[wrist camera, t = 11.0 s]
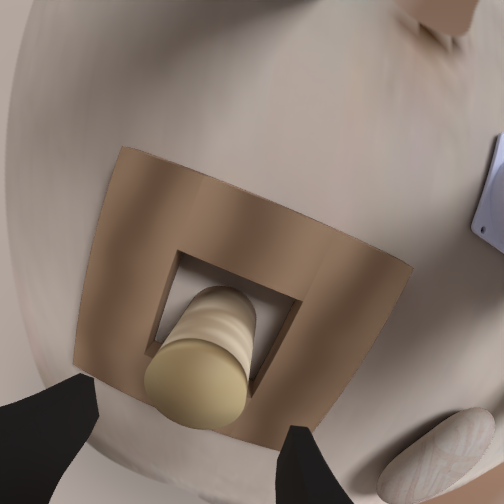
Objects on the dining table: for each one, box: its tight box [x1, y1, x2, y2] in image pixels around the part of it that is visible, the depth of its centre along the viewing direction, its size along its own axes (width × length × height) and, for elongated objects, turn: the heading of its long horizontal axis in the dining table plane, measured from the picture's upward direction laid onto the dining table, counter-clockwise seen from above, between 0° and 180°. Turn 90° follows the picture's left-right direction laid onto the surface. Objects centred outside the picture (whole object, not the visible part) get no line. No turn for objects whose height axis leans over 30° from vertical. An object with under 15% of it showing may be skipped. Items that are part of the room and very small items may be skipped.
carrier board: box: [73, 146, 414, 451], centre depth 19 cm, size 18×16×2 cm
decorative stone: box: [377, 408, 495, 504], centre depth 19 cm, size 13×9×5 cm
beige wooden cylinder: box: [144, 286, 256, 430], centre depth 16 cm, size 4×4×8 cm
